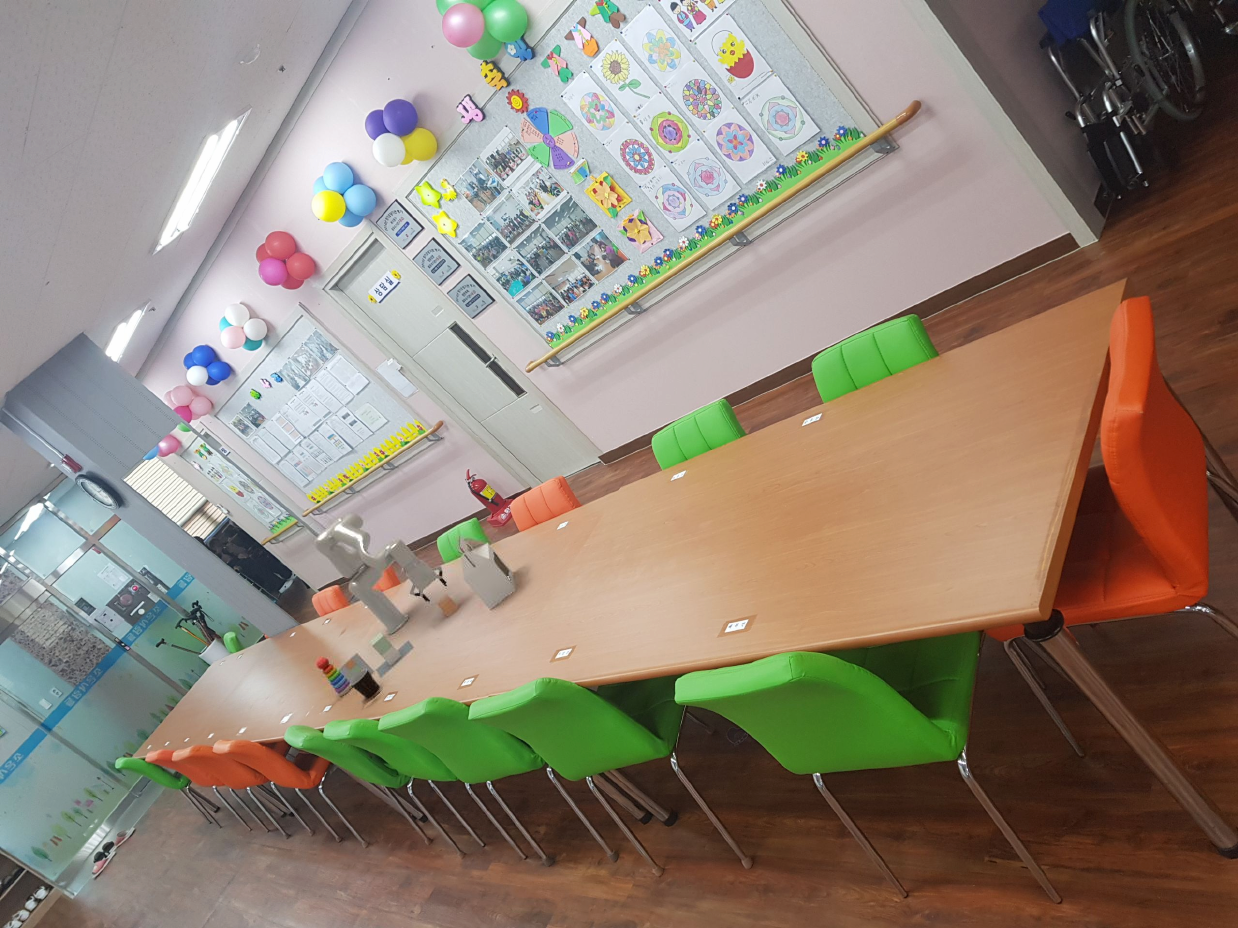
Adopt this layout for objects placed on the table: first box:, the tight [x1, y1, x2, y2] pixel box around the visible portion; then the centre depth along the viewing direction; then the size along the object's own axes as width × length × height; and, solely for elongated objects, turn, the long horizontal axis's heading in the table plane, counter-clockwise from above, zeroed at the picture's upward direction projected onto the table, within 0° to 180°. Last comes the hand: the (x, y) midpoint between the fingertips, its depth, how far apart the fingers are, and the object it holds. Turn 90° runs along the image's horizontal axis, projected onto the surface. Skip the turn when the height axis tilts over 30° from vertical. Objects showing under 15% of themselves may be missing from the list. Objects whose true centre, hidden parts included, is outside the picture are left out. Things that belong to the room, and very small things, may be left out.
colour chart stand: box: [337, 652, 375, 683], centre depth 353 cm, size 4×10×12 cm, turn 120°
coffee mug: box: [350, 669, 381, 701], centre depth 332 cm, size 12×9×10 cm
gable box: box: [457, 535, 517, 610], centre depth 338 cm, size 22×13×28 cm, turn 13°
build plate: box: [375, 640, 415, 679], centre depth 352 cm, size 14×18×1 cm
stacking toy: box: [316, 657, 353, 697], centre depth 359 cm, size 8×8×19 cm
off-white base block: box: [381, 645, 402, 666], centre depth 351 cm, size 8×6×6 cm
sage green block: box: [369, 631, 394, 657], centre depth 349 cm, size 8×6×6 cm
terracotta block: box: [436, 594, 459, 618], centre depth 361 cm, size 8×6×6 cm
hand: (437, 593), depth 358 cm, fingers open, 9 cm apart
